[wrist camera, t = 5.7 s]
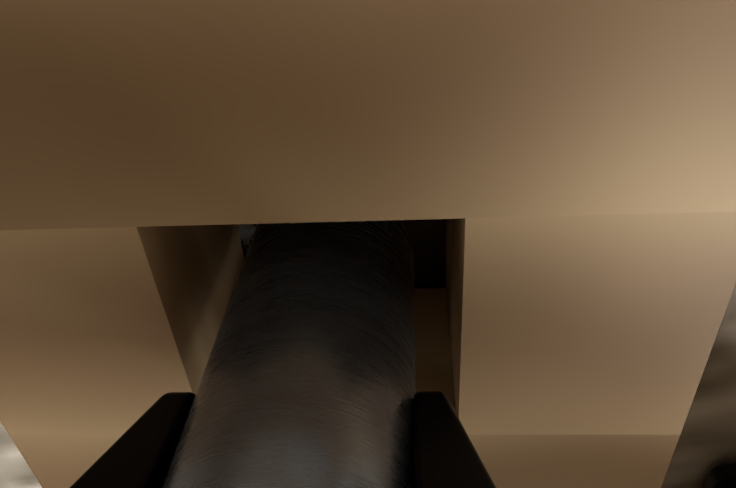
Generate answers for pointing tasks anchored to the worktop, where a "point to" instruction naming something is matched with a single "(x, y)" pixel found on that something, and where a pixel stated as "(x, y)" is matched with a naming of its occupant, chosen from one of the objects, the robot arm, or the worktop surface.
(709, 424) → the worktop surface
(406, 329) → the pin
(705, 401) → the worktop surface
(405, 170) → the socket block
